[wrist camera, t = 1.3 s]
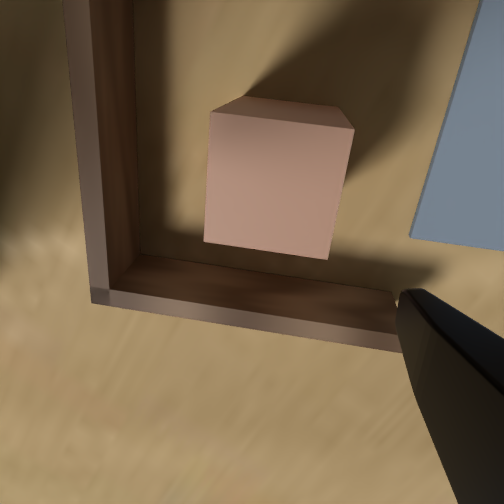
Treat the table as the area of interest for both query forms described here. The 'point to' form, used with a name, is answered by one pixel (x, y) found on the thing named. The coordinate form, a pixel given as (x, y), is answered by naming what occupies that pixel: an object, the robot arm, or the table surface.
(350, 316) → the brown open boxy piece
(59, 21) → the table surface
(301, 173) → the terracotta block
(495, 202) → the slate mat
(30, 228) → the table surface
